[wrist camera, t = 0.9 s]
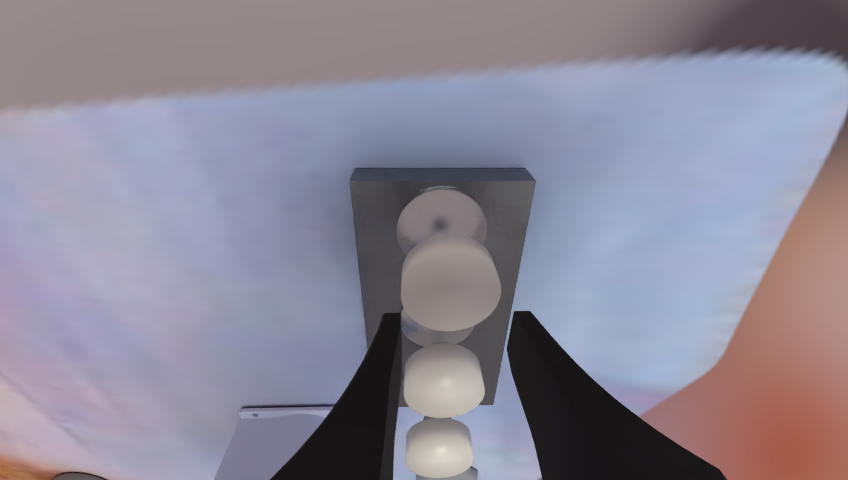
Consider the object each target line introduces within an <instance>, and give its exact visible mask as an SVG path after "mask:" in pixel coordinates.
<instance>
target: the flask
mask: <svg viewBox="0 0 848 480" xmlns="http://www.w3.org/2000/svg"><path fill="white" fill-rule="evenodd" d="M477 474H478V472H477V471H475V470H474V469H472V468H469V469H467V470H466V471H464V472H462V473H460V474H458V475H455V476H451V477H445V478H429V477H423V476H420V475H417V474H416V479H417V480H477Z"/></svg>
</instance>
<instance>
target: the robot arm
mask: <svg viewBox="0 0 848 480" xmlns="http://www.w3.org/2000/svg"><path fill="white" fill-rule="evenodd" d="M507 352H508V357H509V362H510V367H511V372H512V376H513V379H514V382H515V385H516V388H517V391H518V394H519V397H520V400H521V403H522V406H523V409H524V412H525V415H526V418H527V421H528V424H529V427H530V430H531V434H532V437H533V441H534V444H535V448H536V453H537V457H538V461H539V466H540V470H541V474H542V479H543V480H727V479H726V477H725V476H724V475H723V474H722V472H721V471H720V470H719V469H718V468H716V467H714V466H713V465H711V464H709V463H708V462H706V461H704V460H703V459H701V458H699V457H698V456H696V455H694V454H693V453H691V452H689V451H688V450H686V449H684V448H683V447H681V446H680V445H678V444H677V443H675V442H674V441H672V440H671V439H669V438H668V437H666V436H664V435H663V434H662V433H660V432H658V431H657V430H656V429H654V428H653V427H652V426H650V425H649V424H647V423H646V422H644V421H643V420H642V419H641V418H639V417H638V416H637V415H635V414H634V413H633V412H631V411H630V410H629V409H627V408H626V407H625V406H623V405H622V404H621V403H620V402H618V401H617V400H616V399H615V398H614V397H612V396H611V395H610V394H609V393H608V392H607V391H605V390H604V389H603V388H602V387H601V386H600V385H598V384H597V383H596V382H595V381H594V380H593V379H592V378H591V377H590V376H589V375H588V374H587V373H586V372H585V371H584V370H583V369H582V368H581V367H580V366H579V365H578V364H577V363H576V362H575V361H574V360H573V359H572V358H571V357H570V356H569V355H568V354H567V353H566V352H565V351H564V350H563V349H562V347H561V346H560V345H559V344H558V343H557V342H556V341H555V340H554V339H553V337H552V336H551V335H550V334H549V333H548V332H547V330H546V329H545V328H544V327H543V326H542V325H541V323H540V322H539V321H538V320H537V319H536V317H535V316H534V315H533V314H532V313H531V312H530V311H514V314H513V319H512V324H511V330H510V335H509V340H508V345H507ZM401 378H402V326H401V313H384V314H383V315H382V318H381V321H380V324H379V327H378V330H377V332H376V335H375V337H374V339H373V341H372V344H371V346H370V348H369V350H368V352H367V354H366V356H365V358H364V360H363V361H362V363H361V365H360V367H359V368H358V370H357V372H356V374H355V375H354V377H353V379H352V380H351V382H350V384H349V385H348V387H347V388H346V390H345V391H344V393H343V394H342V396H341V397H340V399H339V400H338V402H337V403H336V404H335V406H334V407H288V408H244V409H241V410H240V412H239V417H240V419H241V420H240V422H239V424H238V426H237V428H236V431H235V433H234V435H233V438H232V440H231V442H230V444H229V447H228V449H227V451H226V453H225V456H224V458H223V460H222V463H221V465H220V467H219V469H218V472H217V474H216V476H215V478H214V480H393V460H394V440H395V430H396V421H397V413H398V404H399V396H400V387H401Z"/></svg>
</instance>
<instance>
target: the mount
mask: <svg viewBox="0 0 848 480" xmlns="http://www.w3.org/2000/svg"><path fill="white" fill-rule="evenodd" d="M535 183H536V181H535V179H534V178H533V177H532V176H531V175H530V173H529V172H528V171H527V170H526V168H355V170H354V172H353V175H352V177H351V180H350V188H351V197H352V206H353V216H354V225H355V234H356V244H357V253H358V262H359V272H360V281H361V290H362V300H363V309H364V318H365V328H366V337H367V346H368V350H369V348H370V346H371V344H372V341H373V339H374V337H375V335H376V332H377V330H378V327H379V324H380V321H381V318H382V315H383V314H384V313H401V326H402V378H401V387H400V396H399V404H398V407H409V406H408V405H407V403H406V402H405V399H404V370H405V364H406V362H407V360H408V359H409V357H410V356H411V355H412V354H413V353H415V352H416V351H418V350H419V349H421V348H423V347H426V346H429V345H431V344H433V343H436V342H448V343H450V344H456V345H460V346H463V347H465V348H467V349H469V350H470V351H472V352H473V353H474V354H475V355H476V356H477V358H478V360H479V363H480V368H481V373H482V378H483V383H484V388H485V394H484V397H483V399H482V401H481V402H480V404H479V405H493V403H494V398H495V393H496V388H497V382H498V377H499V372H500V367H501V361H502V356H503V351H504V346H505V340H506V335H507V330H508V325H509V319H510V314H511V309H512V304H513V298H514V293H515V288H516V282H517V277H518V272H519V267H520V261H521V256H522V251H523V246H524V240H525V235H526V230H527V225H528V219H529V214H530V209H531V204H532V198H533V193H534V188H535ZM440 234H460V235H465V236H468V237H471V238H473V239H475V240H477V241H478V242H480V243H481V244H482V245H483V246H484V247H485V248H486V249H487V250H488V252H489V253H490V255H491V257H492V260H493V263H494V265H495V268H496V271H497V274H498V277H499V280H500V284H501V296H500V300H499V302H498V305H497V306H496V308H495V309H494V311H493V312H492V313H491V314H490V315H489V316H488V317H487V318H486V319H484V320H483V321H481V322H480V323H478V324H476V325H474V326H472V327H469V328H466V329H462V330H457V331H439V330H434V329H430V328H427V327H424V326H422V325H420V324H419V323H417V322H415V321H414V320H413V319H412V318H411V317H410V316H409V315H408V314H407V312H406V311H405V309H404V307H403V305H402V301H401V279H402V266H403V263H404V260H405V258H406V256H407V255H408V253H409V252H410V251H411V250H412V249H413V248H414V247H415V246H416V245H417V244H418V243H420V242H422V241H423V240H425V239H427V238H430V237H432V236H436V235H440Z"/></svg>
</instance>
